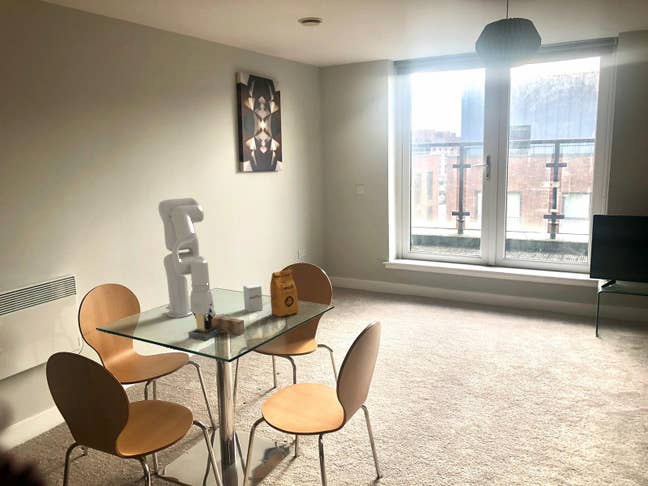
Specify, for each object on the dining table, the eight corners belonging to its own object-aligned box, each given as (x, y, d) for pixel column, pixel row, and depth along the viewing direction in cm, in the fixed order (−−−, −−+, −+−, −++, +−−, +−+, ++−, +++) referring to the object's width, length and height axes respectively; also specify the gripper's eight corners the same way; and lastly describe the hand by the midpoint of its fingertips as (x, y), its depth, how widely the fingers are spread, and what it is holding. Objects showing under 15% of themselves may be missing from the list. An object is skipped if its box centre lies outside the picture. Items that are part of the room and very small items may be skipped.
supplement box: (249, 312, 267) (247, 288, 265) (244, 309, 273) (242, 285, 271) (263, 310, 270) (261, 286, 268) (258, 306, 277) (256, 283, 274)
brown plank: (201, 327, 246) (200, 315, 245) (205, 325, 248) (204, 313, 247) (240, 335, 233) (239, 322, 232) (244, 333, 236) (243, 320, 235)
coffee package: (301, 314, 260) (298, 270, 256) (278, 319, 254) (275, 274, 250) (291, 309, 268) (289, 267, 265) (269, 314, 262) (266, 271, 258)
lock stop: (197, 331, 233) (195, 311, 232) (204, 328, 237) (202, 308, 236) (204, 332, 231) (203, 312, 229) (212, 329, 235) (210, 310, 233)
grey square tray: (188, 337, 233) (188, 332, 232) (205, 330, 241) (204, 325, 241) (205, 341, 227) (204, 335, 227) (221, 333, 236) (220, 328, 235)
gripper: (180, 288, 232) (184, 327, 235) (209, 291, 223) (212, 333, 226) (193, 284, 238) (196, 323, 241) (221, 287, 229) (224, 327, 232)
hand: (204, 327), depth 234 cm, fingers closed on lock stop, 4 cm apart
